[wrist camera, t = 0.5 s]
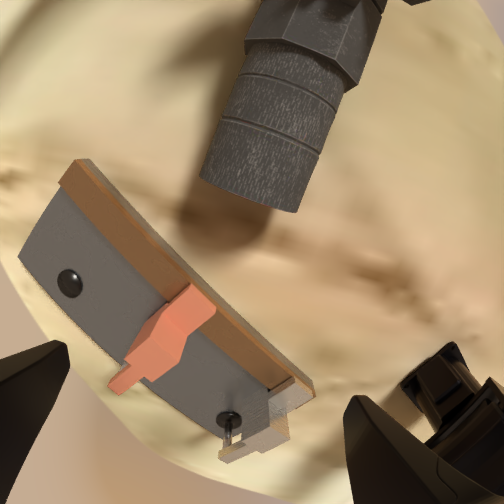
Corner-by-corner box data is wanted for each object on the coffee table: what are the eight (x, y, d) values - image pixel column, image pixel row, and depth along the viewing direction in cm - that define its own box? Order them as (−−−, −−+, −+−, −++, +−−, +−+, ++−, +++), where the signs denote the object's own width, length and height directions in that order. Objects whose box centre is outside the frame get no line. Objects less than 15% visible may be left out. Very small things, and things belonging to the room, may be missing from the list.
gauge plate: (313, 379, 24) (326, 428, 18) (225, 431, 26) (222, 478, 20) (90, 156, 18) (43, 159, 13) (25, 252, 20) (-17, 276, 15)
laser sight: (177, 161, 19) (111, 169, 9) (292, -78, 13) (310, -156, 3) (318, 214, 20) (376, 266, 10) (406, -31, 14) (466, -88, 4)
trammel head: (217, 301, 20) (210, 338, 16) (143, 362, 21) (126, 401, 17) (193, 278, 19) (179, 310, 15) (121, 343, 21) (100, 380, 17)
